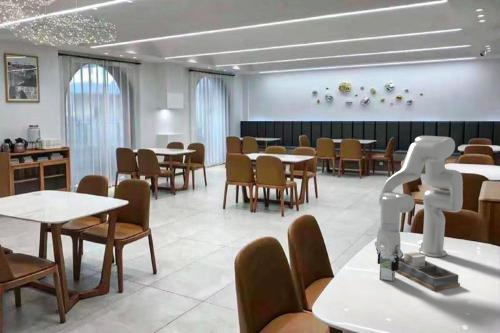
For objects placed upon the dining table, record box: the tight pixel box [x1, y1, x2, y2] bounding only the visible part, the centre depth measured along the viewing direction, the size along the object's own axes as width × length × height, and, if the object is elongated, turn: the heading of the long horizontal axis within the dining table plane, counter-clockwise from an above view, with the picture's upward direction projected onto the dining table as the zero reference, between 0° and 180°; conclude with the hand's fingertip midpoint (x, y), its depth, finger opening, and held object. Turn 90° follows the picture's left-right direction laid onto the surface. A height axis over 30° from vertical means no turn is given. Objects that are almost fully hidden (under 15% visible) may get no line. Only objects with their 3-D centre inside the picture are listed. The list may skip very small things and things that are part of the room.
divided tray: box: [395, 251, 461, 292], centre depth 186 cm, size 25×14×8 cm, turn 22°
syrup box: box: [379, 245, 396, 282], centre depth 184 cm, size 6×6×14 cm
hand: (387, 266), depth 185 cm, fingers closed on syrup box, 8 cm apart
